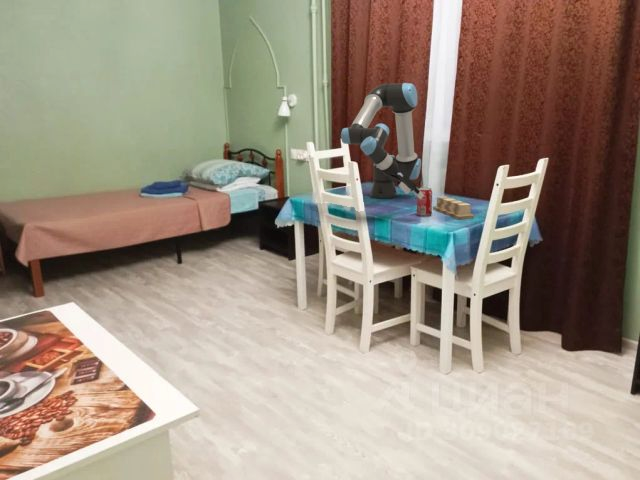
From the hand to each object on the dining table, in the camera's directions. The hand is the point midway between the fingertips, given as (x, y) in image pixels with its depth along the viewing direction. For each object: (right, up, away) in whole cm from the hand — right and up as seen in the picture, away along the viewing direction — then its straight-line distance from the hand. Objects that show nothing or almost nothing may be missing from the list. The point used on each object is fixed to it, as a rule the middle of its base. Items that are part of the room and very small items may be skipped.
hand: (415, 194), depth 245 cm
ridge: (+20, -9, +7) cm, 22 cm away
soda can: (+5, -10, +5) cm, 12 cm away
